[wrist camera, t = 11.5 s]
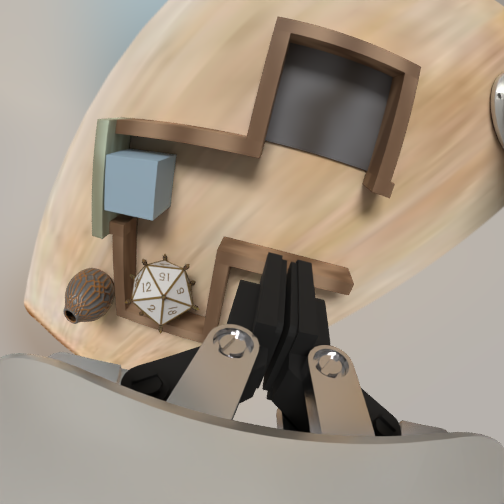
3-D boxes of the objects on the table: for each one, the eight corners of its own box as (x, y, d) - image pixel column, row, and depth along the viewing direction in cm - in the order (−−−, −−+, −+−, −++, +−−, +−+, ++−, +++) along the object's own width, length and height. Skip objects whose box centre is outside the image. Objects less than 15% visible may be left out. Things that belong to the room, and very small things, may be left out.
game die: (192, 271, 39) (191, 342, 34) (132, 264, 36) (126, 337, 31) (205, 240, 31) (205, 328, 27) (131, 231, 29) (120, 320, 24)
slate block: (176, 154, 28) (157, 161, 24) (170, 205, 31) (152, 220, 26) (130, 148, 28) (106, 154, 24) (126, 196, 31) (104, 210, 26)
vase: (123, 273, 36) (91, 310, 28) (118, 307, 39) (91, 345, 31) (85, 253, 35) (49, 285, 27) (83, 288, 38) (53, 321, 30)
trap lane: (410, 73, 21) (432, 67, 16) (309, 349, 38) (310, 375, 34) (145, 19, 21) (124, 7, 16) (116, 297, 38) (100, 317, 34)
